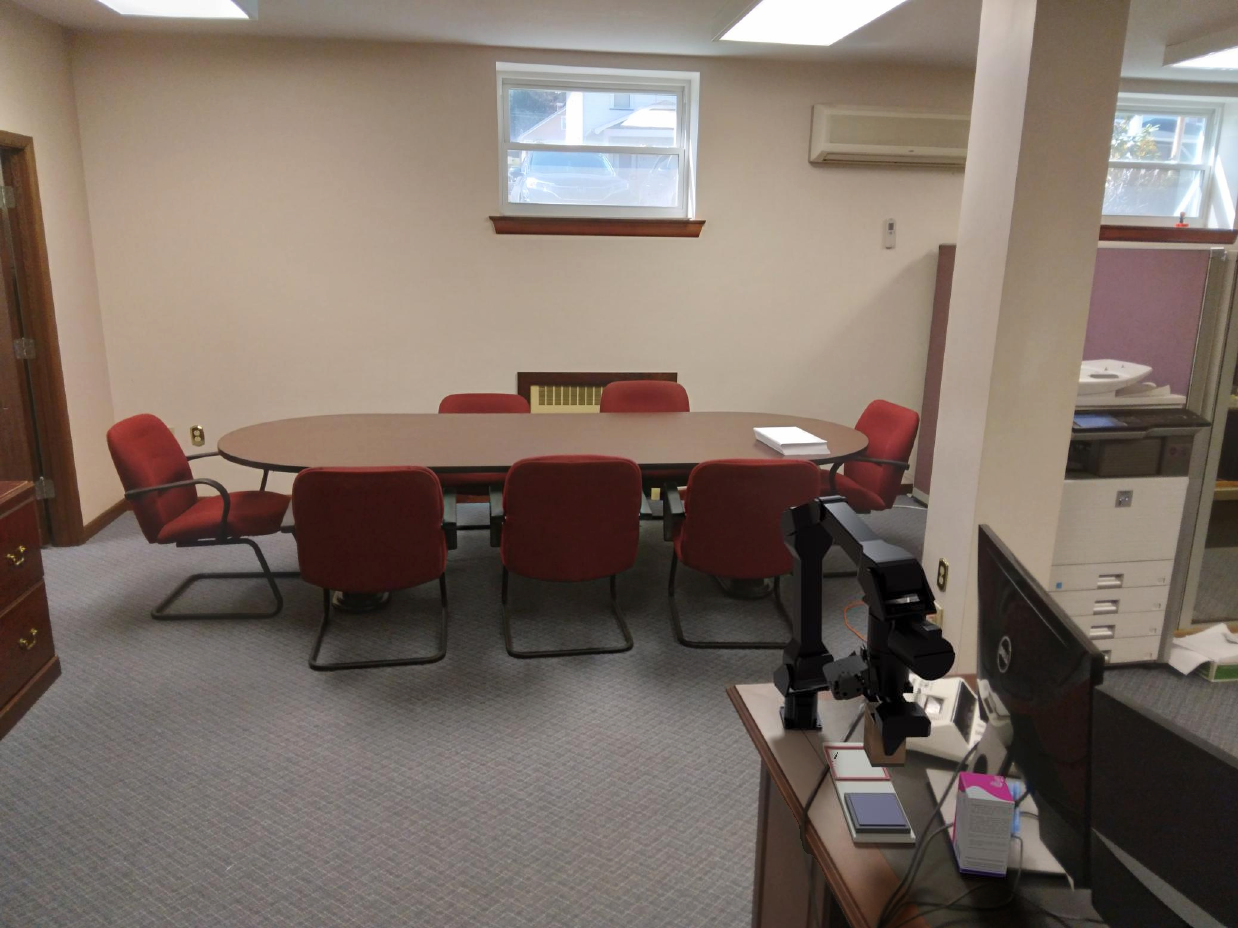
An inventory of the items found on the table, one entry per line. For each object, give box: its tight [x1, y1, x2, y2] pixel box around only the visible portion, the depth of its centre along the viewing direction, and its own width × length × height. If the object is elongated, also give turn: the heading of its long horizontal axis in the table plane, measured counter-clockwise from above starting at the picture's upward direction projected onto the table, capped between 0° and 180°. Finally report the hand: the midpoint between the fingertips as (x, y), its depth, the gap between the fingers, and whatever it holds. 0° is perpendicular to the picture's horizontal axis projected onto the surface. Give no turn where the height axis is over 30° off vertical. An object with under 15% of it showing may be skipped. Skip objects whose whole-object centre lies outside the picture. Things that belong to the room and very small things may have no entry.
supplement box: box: [951, 771, 1016, 878], centre depth 104 cm, size 6×6×12 cm
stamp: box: [862, 701, 907, 768], centre depth 110 cm, size 4×4×7 cm
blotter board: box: [821, 742, 917, 844], centre depth 119 cm, size 22×8×2 cm, turn 177°
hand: (883, 744), depth 111 cm, fingers closed on stamp, 4 cm apart
